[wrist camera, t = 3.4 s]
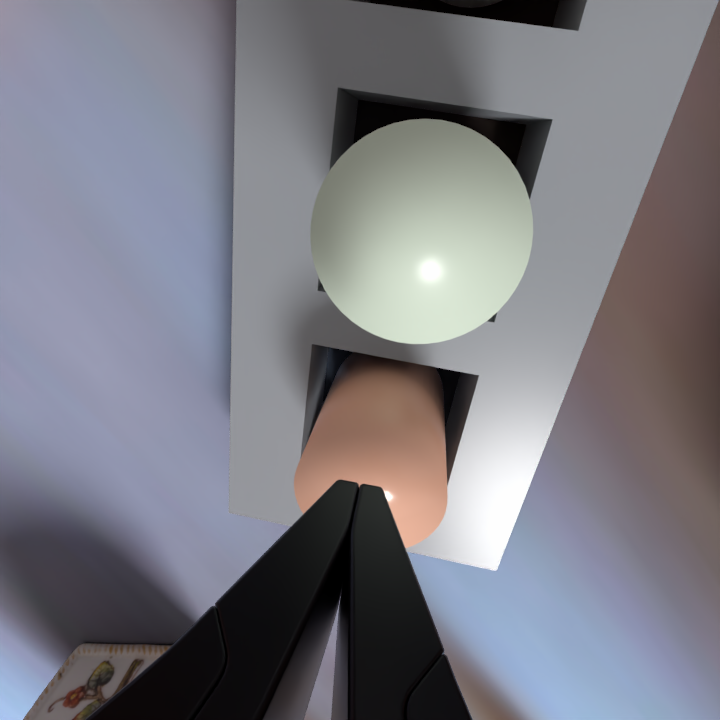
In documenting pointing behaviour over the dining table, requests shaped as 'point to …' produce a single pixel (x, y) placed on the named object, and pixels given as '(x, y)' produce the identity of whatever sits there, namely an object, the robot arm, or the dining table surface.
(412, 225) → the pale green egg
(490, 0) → the cream rounded tapered piece
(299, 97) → the grey holder tray
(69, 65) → the dining table surface
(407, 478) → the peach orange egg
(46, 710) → the decorative jar
